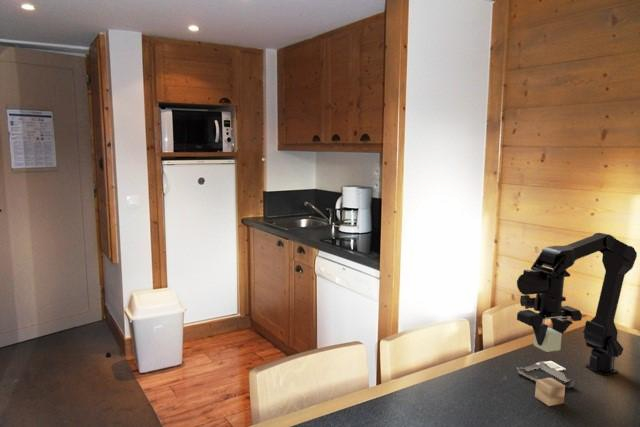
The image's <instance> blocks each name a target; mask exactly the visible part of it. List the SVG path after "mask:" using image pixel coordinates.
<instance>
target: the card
mask: <svg viewBox="0 0 640 427" xmlns="http://www.w3.org/2000/svg"><path fill="white" fill-rule="evenodd" d="M543 362H544V363H545V364H547V365H548V366H550V368H554V369H556V370H557V371H558V372H563V370H564V371H566V370H567V368H565V367H564V366H561V365H560V364H558V363H556V362H554V361H552V360H548V361H543ZM535 364H538V365H539V364H540V362H536V363H535Z"/></svg>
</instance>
